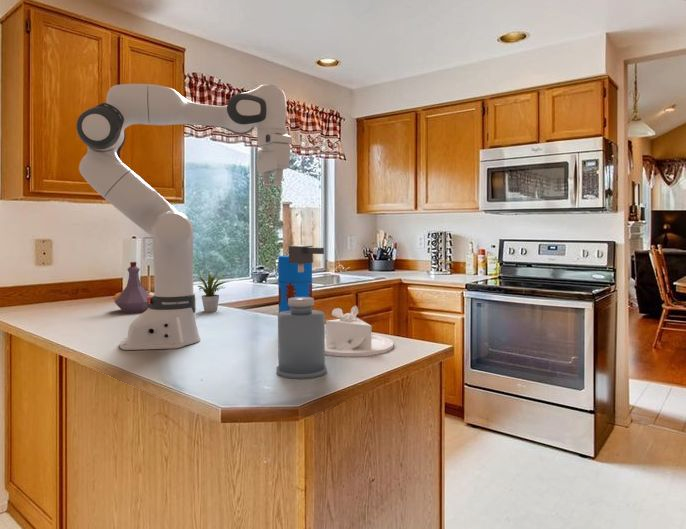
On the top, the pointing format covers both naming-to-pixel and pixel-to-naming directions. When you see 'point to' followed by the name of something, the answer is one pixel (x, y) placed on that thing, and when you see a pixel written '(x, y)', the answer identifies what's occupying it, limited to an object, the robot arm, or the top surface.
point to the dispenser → (301, 340)
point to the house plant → (210, 293)
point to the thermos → (292, 281)
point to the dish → (353, 336)
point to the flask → (133, 293)
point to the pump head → (303, 255)
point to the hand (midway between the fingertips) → (272, 186)
